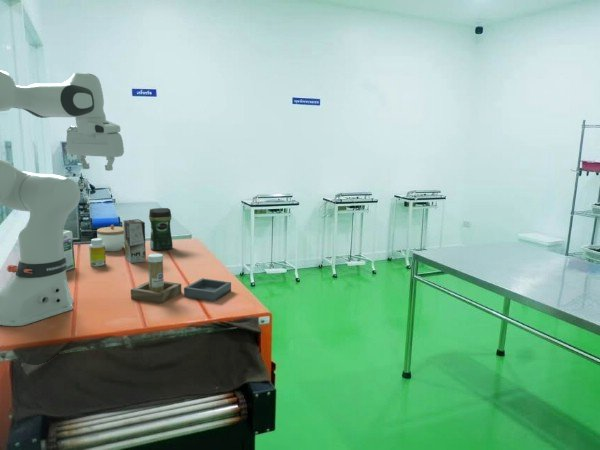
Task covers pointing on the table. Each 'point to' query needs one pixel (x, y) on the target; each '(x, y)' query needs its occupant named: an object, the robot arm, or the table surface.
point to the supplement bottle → (97, 252)
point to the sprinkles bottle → (156, 272)
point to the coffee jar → (160, 229)
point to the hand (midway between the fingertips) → (97, 169)
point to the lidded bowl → (112, 237)
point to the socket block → (153, 296)
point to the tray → (207, 289)
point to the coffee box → (134, 240)
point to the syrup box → (68, 249)
